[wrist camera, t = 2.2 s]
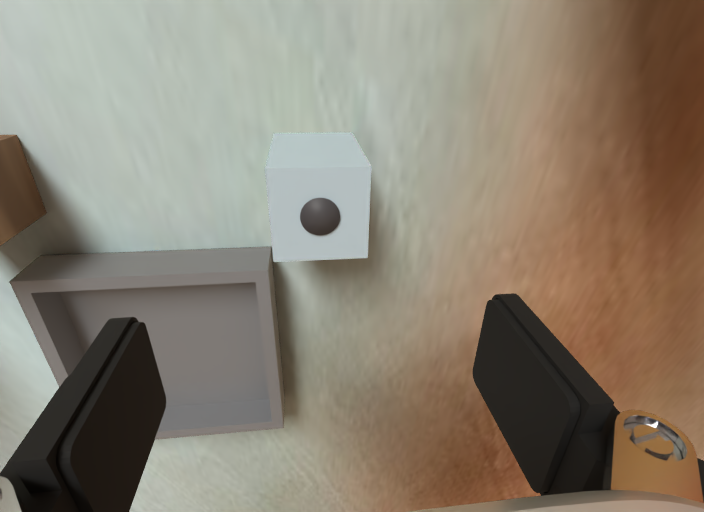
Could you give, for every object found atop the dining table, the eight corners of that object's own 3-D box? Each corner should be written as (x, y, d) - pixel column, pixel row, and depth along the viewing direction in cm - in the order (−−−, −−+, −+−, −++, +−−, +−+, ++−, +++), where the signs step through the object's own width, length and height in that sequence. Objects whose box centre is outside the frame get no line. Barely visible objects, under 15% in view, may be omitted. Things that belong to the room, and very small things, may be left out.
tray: (270, 246, 26) (267, 270, 23) (284, 396, 33) (283, 427, 30) (40, 255, 24) (9, 281, 22) (104, 411, 31) (87, 445, 29)
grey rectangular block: (352, 132, 23) (371, 167, 17) (351, 204, 25) (367, 259, 19) (273, 132, 23) (264, 168, 16) (279, 206, 25) (273, 263, 19)
